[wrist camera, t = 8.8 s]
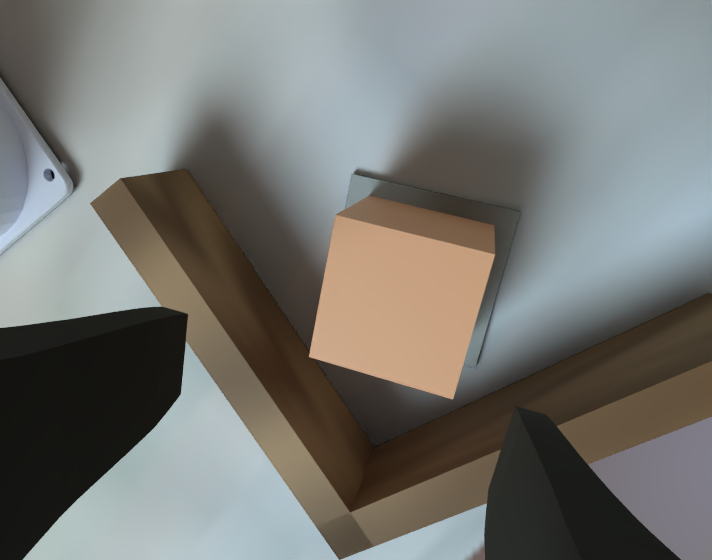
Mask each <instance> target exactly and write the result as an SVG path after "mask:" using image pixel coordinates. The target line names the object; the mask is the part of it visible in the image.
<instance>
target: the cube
mask: <svg viewBox="0 0 712 560" xmlns="http://www.w3.org/2000/svg"><path fill="white" fill-rule="evenodd" d="M494 257H495V230H494V225H491V224H487V223H483V222H479V221H474V220H470V219H466V218H462V217H458V216H453V215H449V214H445V213H441V212H437V211H433V210H428V209H424V208H420V207H416V206H412V205H407V204H403V203H399V202H395V201H391V200H386V199H382V198H378V197H374V196H370V195H369V196H367V197H366V198H364V199H362V200H361V201H359V202H357V203H355V204H354V205H352V206H350V207H348V208H347V209H345V210H343V211H341V212H340V213H338V214H336V215H335V220H334V225H333V231H332V236H331V241H330V247H329V252H328V257H327V263H326V268H325V273H324V279H323V284H322V289H321V295H320V300H319V305H318V311H317V316H316V321H315V327H314V332H313V337H312V343H311V348H310V354H309V357H311V358H314V359H318V360H321V361H324V362H328V363H331V364H334V365H338V366H341V367H345V368H348V369H351V370H355V371H358V372H362V373H365V374H368V375H372V376H375V377H378V378H382V379H385V380H389V381H392V382H395V383H399V384H402V385H405V386H409V387H412V388H416V389H419V390H422V391H426V392H429V393H432V394H436V395H439V396H443V397H446V398H449V399H453V398H454V395H455V391H456V388H457V384H458V381H459V377H460V374H461V371H462V367H463V364H464V360H465V357H466V353H467V350H468V346H469V343H470V340H471V336H472V333H473V329H474V326H475V322H476V319H477V315H478V312H479V309H480V305H481V302H482V298H483V295H484V291H485V288H486V284H487V281H488V278H489V274H490V271H491V267H492V264H493V260H494Z"/></svg>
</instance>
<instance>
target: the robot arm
mask: <svg viewBox="0 0 712 560" xmlns="http://www.w3.org/2000/svg"><path fill="white" fill-rule="evenodd" d="M51 170H52V171H53V172H54V174H55V178H54V179H53V178H52V176H51ZM72 192H73V182H72V180H71V178H70V177H69V175H68V174H67V172H66V171H65V169H64V168H63V167H62V165H61V164H60V162H59V161H58V159H57V158H56V157H55V155H54V154H53V152H52V151H51V149H50V148H49V147H48V145H47V144H46V142H45V141H44V139H43V138H42V137H41V135H40V134H39V132H38V131H37V129H36V128H35V127H34V125H33V124H32V122H31V121H30V119H29V118H28V117H27V115H26V114H25V112H24V111H23V109H22V108H21V107H20V105H19V104H18V102H17V101H16V99H15V98H14V97H13V95H12V94H11V92H10V91H9V89H8V88H7V87H6V85H5V84H4V82H3V81H2V79H1V78H0V255H1V254H2V253H3V252H4V251H5V250H6V249H8V248H9V247H10V246H11V245H12V244H13V243H15V242H16V241H17V240H18V239H19V238H20V237H22V236H23V235H24V234H25V233H26V232H27V231H29V230H30V229H31V228H32V227H33V226H34V225H36V224H37V223H38V222H39V221H40V220H42V219H43V218H44V217H45V216H46V215H47V214H49V213H50V212H51V211H52V210H53V209H54V208H56V207H57V206H58V205H59V204H60V203H61V202H63V201H64V200H65V199H66V198H67V197H68V196H70V194H71V193H72ZM187 322H188V314H187V313H184V312H180V311H177V310H173V309H169V308H166V307H148V308H139V309H131V310H125V311H118V312H112V313H106V314H100V315H93V316H87V317H81V318H75V319H68V320H61V321H54V322H46V323H39V324H32V325H24V326H16V327H6V328H0V560H23V558H24V557H25V556H26V555H27V554H28V553H29V551H30V550H31V549H32V548H33V547H34V546H35V545H36V543H37V542H38V541H39V540H40V539H41V538H42V537H43V536H44V534H45V533H46V532H47V531H48V530H49V529H50V528H51V526H52V525H53V524H54V523H55V522H56V521H57V520H58V519H59V517H60V516H61V515H62V514H63V513H64V512H65V511H66V510H67V509H68V508H69V507H70V506H71V505H72V504H73V503H74V502H75V501H76V500H77V499H78V498H79V497H80V496H82V495H83V494H84V493H85V492H86V491H87V490H88V489H89V488H90V487H91V486H92V485H93V484H95V483H96V482H97V481H98V480H99V479H100V478H101V477H102V476H103V475H104V474H105V473H106V472H108V471H109V470H110V469H111V468H112V467H113V466H114V465H115V464H116V463H117V462H118V461H119V460H120V459H122V458H123V457H124V456H125V455H126V454H127V453H128V452H129V451H130V450H131V449H132V448H133V447H134V446H135V445H137V444H138V443H139V442H140V441H141V440H142V439H143V438H144V437H145V436H146V435H147V434H148V433H149V432H150V431H151V430H152V429H153V428H154V427H155V426H156V425H157V424H158V422H159V421H160V420H161V419H162V418H163V416H164V415H165V414H166V413H167V411H168V410H169V409H170V408H171V406H172V405H173V404H174V402H175V401H176V400H177V398H178V397H179V396H180V394H181V385H182V375H183V364H184V353H185V343H186V332H187ZM484 539H485V560H681V559H680V558H678V557H677V556H676V555H675V554H674V553H673V552H672V551H671V550H670V549H669V548H667V547H666V546H665V545H664V544H663V543H662V542H661V541H659V539H657V538H656V537H655V536H654V535H653V534H652V533H651V532H650V531H649V530H648V529H647V528H646V527H645V526H644V525H643V524H642V523H641V522H639V520H637V518H635V516H634V515H632V513H631V512H630V511H629V510H628V509H627V508H626V507H625V506H624V505H623V504H622V503H621V502H620V501H619V500H618V498H616V496H615V495H614V494H613V493H612V492H611V491H610V490H609V489H608V488H607V487H606V485H605V484H604V483H603V482H602V481H601V480H600V479H599V478H598V476H597V475H596V474H595V473H594V472H593V470H592V469H591V468H590V467H589V466H588V464H587V463H586V462H585V461H584V460H583V458H582V457H581V456H580V455H579V453H578V452H577V451H576V450H575V448H574V447H573V446H572V445H571V443H570V442H569V441H568V440H567V438H566V437H565V436H564V435H563V433H562V432H561V431H560V430H559V428H558V427H557V426H556V425H555V424H554V422H553V421H552V420H551V419H550V418H549V417H548V416H547V415H546V414H543V413H539V412H536V411H532V410H528V409H525V408H521V407H518V406H515V408H514V411H513V414H512V417H511V420H510V423H509V426H508V429H507V433H506V436H505V439H504V442H503V445H502V448H501V451H500V454H499V458H498V461H497V464H496V467H495V470H494V473H493V476H492V479H491V483H490V486H489V489H488V498H487V508H486V520H485V533H484Z"/></svg>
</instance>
